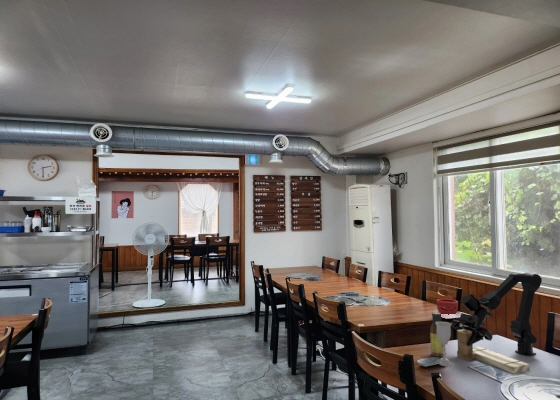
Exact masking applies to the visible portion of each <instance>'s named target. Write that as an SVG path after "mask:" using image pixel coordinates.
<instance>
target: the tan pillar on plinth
mask: <svg viewBox="0 0 560 400" xmlns="http://www.w3.org/2000/svg"><path fill="white" fill-rule="evenodd" d="M456 332H457V333H456V334H457V351H456V356H457V357H458V358H460V359H462V360H464V361H467V362H469V361H470V362H471V361H474V360H477V359H476V356H475V354H474V353H473V348H474V347H473V345H474V344H472V345H470V346H467V343H468V341H469V339H470V337H471V335H472V331H468V330H465V329H462V330H456Z"/></svg>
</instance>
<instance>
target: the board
mask: <svg viewBox="0 0 560 400" xmlns="http://www.w3.org/2000/svg"><path fill="white" fill-rule="evenodd" d="M473 353H474V354H475V356H476V359H475V360H478V361H480V362H483V363H486V364H489V365H491V366H494V367H496V368H499V369H501V370H503V371H505V372H508V373H511V374H519V373H522V372H523V373H524V372H527V371H530V370H531V369H530V368H531V367H530V366H531V364H530V363H527V362H524V361H521V360H518V359H515V358H512V357H510V356H507V355H506V354H505V355H504V354H501V353H498V352H496V351H492V350H490V349H487V348H485V347H482V346H475V347H473Z"/></svg>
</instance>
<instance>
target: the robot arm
mask: <svg viewBox="0 0 560 400" xmlns="http://www.w3.org/2000/svg"><path fill="white" fill-rule="evenodd" d="M542 280H543V279H542V277H541V276H540V275H539V273H534V272H524V273H509V274H508V277H506V278H505V279H504V280H503V281H502V282H501V283H500V284H499V285H498V286H496V288H494V290H492V291H490V292H488V293H486V294H485V295H482V296H481V298H477V297H475V295H474V294H473V293H471V292H469V293H468V294H466V295H464V296H462V297H461V299H460V304H461V305H463V307H464V308H466V310H468V311H469V312H472V313H471V314H467V313H464V312H461V313H460V317H459V320H460V321H459V320H458V319H453V320H451V322H450V323H451V324H452V325H451V327H453V328H454V329H455V331H457V330H462V329H465V330H468V331H472V335H471V337H470V339H469V341H468V343H467V346H470V345H472V344H473V345H474V344H476V343H478V342H479V341H484V340H486V341H492V339H493V337H494V336H493V334H492V332H491V331H490V330H489V329H488V328H486V327H484V326H485V323H484V322H485V320H486V318H487V317H488V318H490V317H492V316H493V315H492V313H491V310H492V311H495V310H496V309H498V308H499V306H500V304H501V303H502V300H503V298H504V297H505V296H507V294H508V293H509V292H510V291H511V290H512V289H513V288H514V287H516V285H517V284H518V283H520V284H521V286H522V294H521V298H520V303H519V309H518V312H517V317H516V319H512V320H510V323H511V324H510V326H509V328H510V332H511V334H512V335H513V337H514V338H515V339H517V349H516V350H515V351H514V352H515V353H518V354H520V355H524V356H526V357H529V356H535V355H537V353H536V352H534V349H533V344H536V343H537V337H536V336H535V335H533V333H532V326H531V323H530V318H531V314H532V308H533V304H534V298H535V294H536V292H537V291H538V290H539V289H540V287H541V285H542V282H543V281H542ZM488 309H489V310H488ZM462 321H463V322H462Z"/></svg>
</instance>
